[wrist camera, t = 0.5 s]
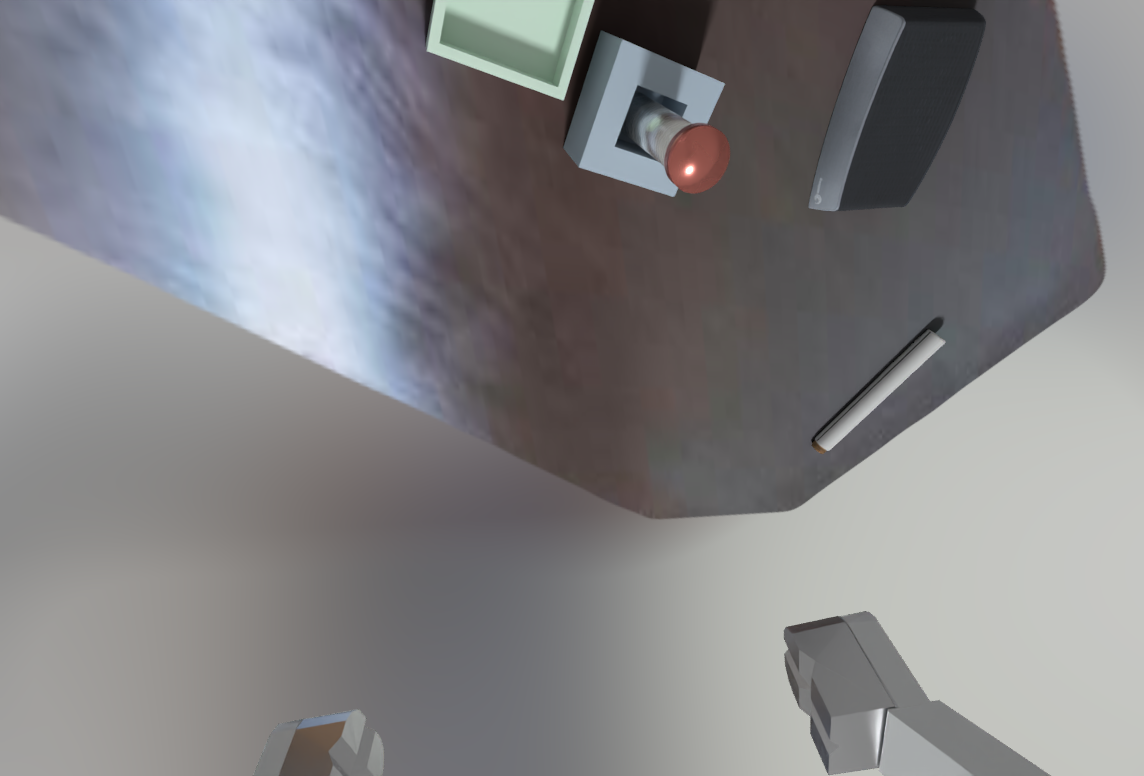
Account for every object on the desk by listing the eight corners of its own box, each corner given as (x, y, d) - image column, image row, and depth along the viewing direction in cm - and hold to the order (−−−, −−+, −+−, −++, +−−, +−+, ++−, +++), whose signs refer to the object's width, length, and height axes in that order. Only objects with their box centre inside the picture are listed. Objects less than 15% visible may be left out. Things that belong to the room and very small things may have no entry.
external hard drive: (799, 206, 63) (820, 220, 60) (863, 3, 51) (893, 7, 48) (893, 201, 66) (917, 214, 62) (975, 8, 53) (1010, 12, 50)
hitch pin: (619, 77, 48) (688, 118, 37) (663, 94, 50) (741, 138, 39) (601, 130, 51) (659, 183, 39) (643, 145, 52) (710, 200, 41)
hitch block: (600, 30, 46) (622, 39, 42) (695, 71, 50) (725, 83, 46) (563, 147, 52) (578, 167, 47) (651, 176, 56) (673, 196, 51)
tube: (816, 444, 93) (934, 332, 82) (827, 457, 91) (949, 343, 80) (806, 440, 92) (924, 326, 81) (817, 453, 90) (940, 337, 79)
